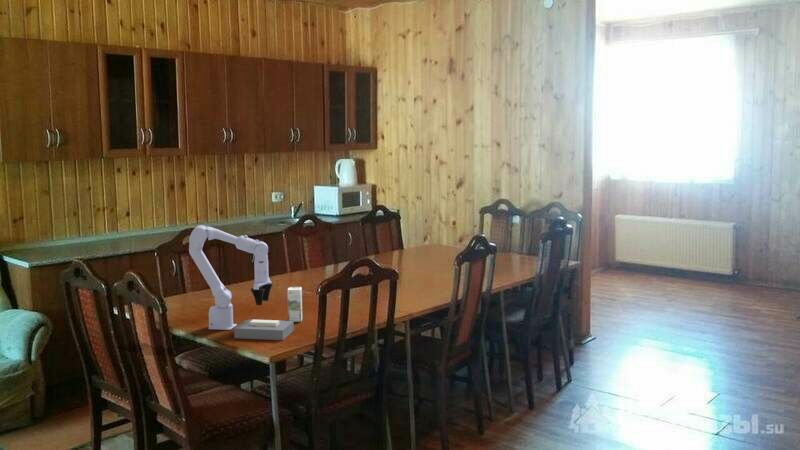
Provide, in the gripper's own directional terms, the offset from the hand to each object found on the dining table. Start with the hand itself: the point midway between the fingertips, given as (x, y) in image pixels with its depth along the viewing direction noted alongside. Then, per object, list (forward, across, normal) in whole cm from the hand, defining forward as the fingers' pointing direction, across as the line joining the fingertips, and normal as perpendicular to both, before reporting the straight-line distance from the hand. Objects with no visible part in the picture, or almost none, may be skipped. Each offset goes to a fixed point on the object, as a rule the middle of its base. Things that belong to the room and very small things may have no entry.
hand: (262, 302), depth 304 cm
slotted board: (+10, -12, -5) cm, 16 cm away
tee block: (+10, -12, -5) cm, 16 cm away
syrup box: (+10, +10, -11) cm, 18 cm away
